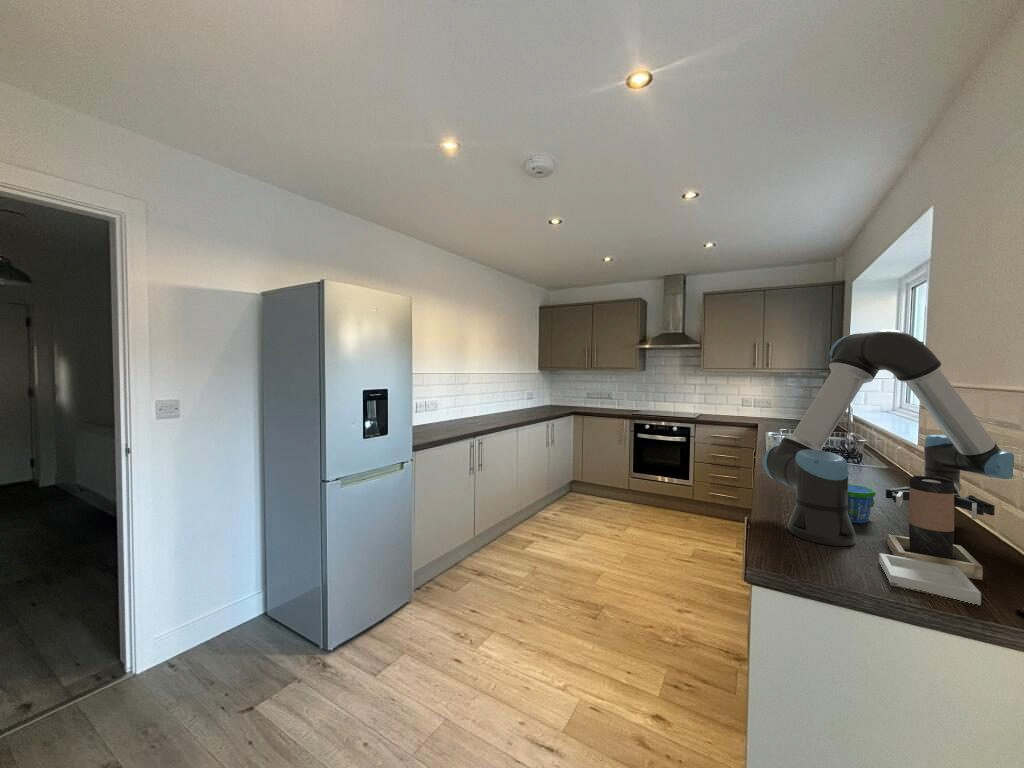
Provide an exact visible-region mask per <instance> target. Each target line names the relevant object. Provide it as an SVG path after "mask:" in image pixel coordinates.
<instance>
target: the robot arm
mask: <svg viewBox="0 0 1024 768" xmlns="http://www.w3.org/2000/svg"><path fill="white" fill-rule="evenodd" d="M829 357H830V359H829V360H830V363H829V364H828V367H829V370H830V373H829V375H828V377H827V378H826V380H825V381H824V383H823V385H822V386H821V388H820V389H819V391H818V393H817V394H816V396H815V398H814V399H813V400H812V403H811V404H810V405H809V407H808V409H807V410H806V412H805V413H804V415H803V416H802V418H801V420H799V423H798V424H797V426H796V428H795V429H794V430H793V433H792V434H791V435H788V436H784V437H783V438H782V439H781V440H780V442H779V444H778V445H775V446H771V447H770V448H768V449H767V450H766V451H765V453H764V455H763V458H762V466H763V469H764V471H765V473H766V475H767V476H768V477H770V478H771V479H772V480H773V481H775V482H777V483H779V484H780V485H784V486H787V487H789V488H791V489H794V490H795V505H794V508H793V510H792V513H791V515H790V517H789V521H788V525H787V526H788V529H789V530H788V531H790V532H791V533H790V532H789V533H790V534H792V535H793V534H794V536H795V535H796V536H795V537H797V536H798V537H797V538H799V537H800V538H799V539H802V540H805V541H808V542H813V543H817V544H821V545H825V546H826V545H827V546H836V547H849V546H853V545H855V544H856V542H857V541H856V540H857V539H856V538H857V535H856V531H855V528H854V526H853V523H852V522H851V520H850V518H849V515H848V509H847V505H848V484H849V474H850V473H849V466H848V462H847V460H846V459H845V458H844V457H843V456H842V455H839V454H836V453H833V452H830V451H825V450H823V448H824V446H825V445H826V443H827V442H828V440H829V438H830V437H831V435H832V434H833V432H834V431H835V429H836V428H837V426H838V425H839V423H840V421H841V420H842V418H843V416H844V414H846V412H847V410H848V408H849V407H850V405H851V404H852V402H853V401H854V400H855V398H856V396H857V394H858V393H859V391H860V390H861V388H862V386H863V384H868V383H871V382H873V380H874V379H875V377H876V376H877V374H878V373H879V371H888V372H890V373H891V374H893V375H894V376H895V378H896V380H898V381H899V382H904V383H906V385H907V387H909V389H910V390H911V392H913V394H914V395H915V397H916V398H917V399H918V400H919V402H920V403H921V405H922V406H923V407H924V408H925V410H926V411H927V412H928V413H929V415H930V416H931V418H932V419H933V421H935V424H937V426H938V427H939V429H940V430H941V431H942V432H943V434H927V436H926V437H925V438H924V440H925V441H924V446H923V449H924V475H923V476H927V477H935V478H941V479H946V480H950V481H952V482H954V508H960V509H964V510H967V511H969V512H971V520H974V521H975V520H976V521H977V516H978V515H980V516H984V514H986V515H989V516H995V509H996V508H995V507H996V506H995V505H994V504H992V503H990V502H987V501H984V500H981V499H979V498H977V497H976V496H974V495H972V494H970V495H966V496H965V497H962V496H961V495H960V492H961V490H962V489H961V471H964V472H967V473H970V474H971V473H972V474H975V475H976V474H977V475H979V476H984V477H989V478H996V479H1001V480H1012V479H1013V478H1012V477H1013V467H1014V465H1013V464H1014V455H1013V452H1010V451H1008V450H1001V448H1000V447H999V445H998V444H997V443H996V441H994V439H993V438H992V436H991V435H990V434H989V433H988V431H987V429H985V427H984V426H983V424H982V423H981V422H980V420H979V419H978V417H977V416H975V414H974V413H973V411H972V410H971V409H970V407H969V406H968V404H967V403H966V402H965V401H964V399H963V398H962V397H961V395H960V393H958V392H957V390H956V389H955V388H954V387H953V385H952V383H951V382H950V380H949V379H948V378H947V377H946V376H945V374H944V373H943V372H942V371H941V367H942V366H943V365H942V362H941V360H939V358H938V357H937V356H936V355H935V353H933V351H932V350H931V349H930V348H929V347H928V346H927V345H926V344H924V343H923V342H922V341H921V340H919V339H918V338H916V337H915V336H912V335H911V334H909V333H908V332H907V333H906V332H904V331H901V330H896V329H882V330H881V329H880V330H877V331H876V330H875V331H870V332H869V331H868V332H855V333H852V334H849V335H845V336H843V337H841V338H838V340H836V341H835V342H834V344H833V345H832V346H831V348H830V351H829ZM909 492H910V485H909V486H908V485H906V486H903V487H894V488H893V487H892V488H886V489H885V498H886V499H889V500H890V499H891V500H892V501H893V503H895V507H899V508H900V507H901V506H902V504H903V502H904V501H909Z"/></svg>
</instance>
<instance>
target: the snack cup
mask: <svg viewBox="0 0 1024 768" xmlns="http://www.w3.org/2000/svg"><path fill="white" fill-rule="evenodd" d="M876 495H877V494H876V491H875V490H874V489H873V488H869V487H867V486H862V485H858V484H857V485H856V484H849V483H848V505H847V509H848V515H849V518H850V520H851V523H852V524H866V523H868V522H869V519H870V516H871V510H872V508H873V507H874V506H875V501H874V497H875V496H876Z"/></svg>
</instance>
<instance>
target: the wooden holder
mask: <svg viewBox="0 0 1024 768" xmlns="http://www.w3.org/2000/svg"><path fill="white" fill-rule="evenodd" d="M887 546H889V547H888V548H889V550H890V551H892V552H891V553H892V555H893V556H899V557H904V558H910V559H915V560H921V561H926V562H932V563H937V564H943V565H948V566H954V567H958V568H959V569H960V570H961V571H962V573H963V574H964V575H965V576H966V577H967V578H968V579H974V580H981V581H983V570H984V569H983V565H982V564H980V563H979V562H978V561H977V560H976V559H975V558H974V557H973V556H972V555H971V554H970V553H969V552H968V551H967V550H966V549H965V548H964V547H962V545H960V544H959V545H958V544H954V543H953V560H951V559H945V558H939V557H934V556H928V555H922V554H916V553H911V552H910V542H909V536H904V535H903V536H902V535H896V534H889V533H887ZM905 549H907V550H905Z"/></svg>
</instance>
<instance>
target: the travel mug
mask: <svg viewBox="0 0 1024 768" xmlns="http://www.w3.org/2000/svg"><path fill="white" fill-rule="evenodd" d="M909 487H910V492H909V500H908V501H909V502H908V503H909V504H908V537H909V542H910V550H909V552H911V553H916V554H922V555H928V556H934V557H939V558H945V559H951V560H954V558H953V544H954V540H955V507H954V482H952V481H950V480H946V479H941V478H935V477H927V476H924V475H912V476H911V477H909Z"/></svg>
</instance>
